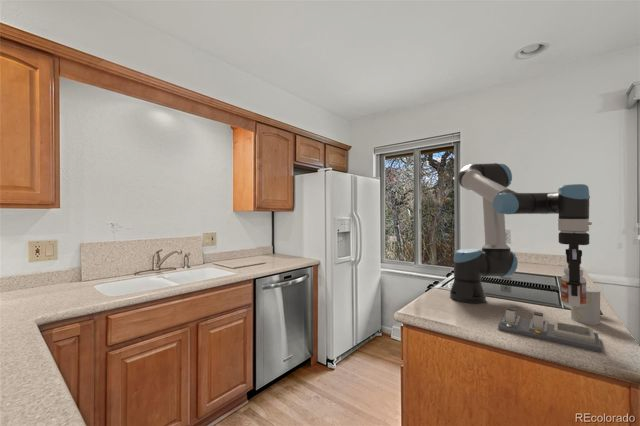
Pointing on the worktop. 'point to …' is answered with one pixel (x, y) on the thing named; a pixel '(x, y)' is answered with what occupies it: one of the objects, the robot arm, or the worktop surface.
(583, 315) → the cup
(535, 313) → the toggle
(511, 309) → the toggle
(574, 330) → the panel
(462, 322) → the worktop surface
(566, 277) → the pill bottle
